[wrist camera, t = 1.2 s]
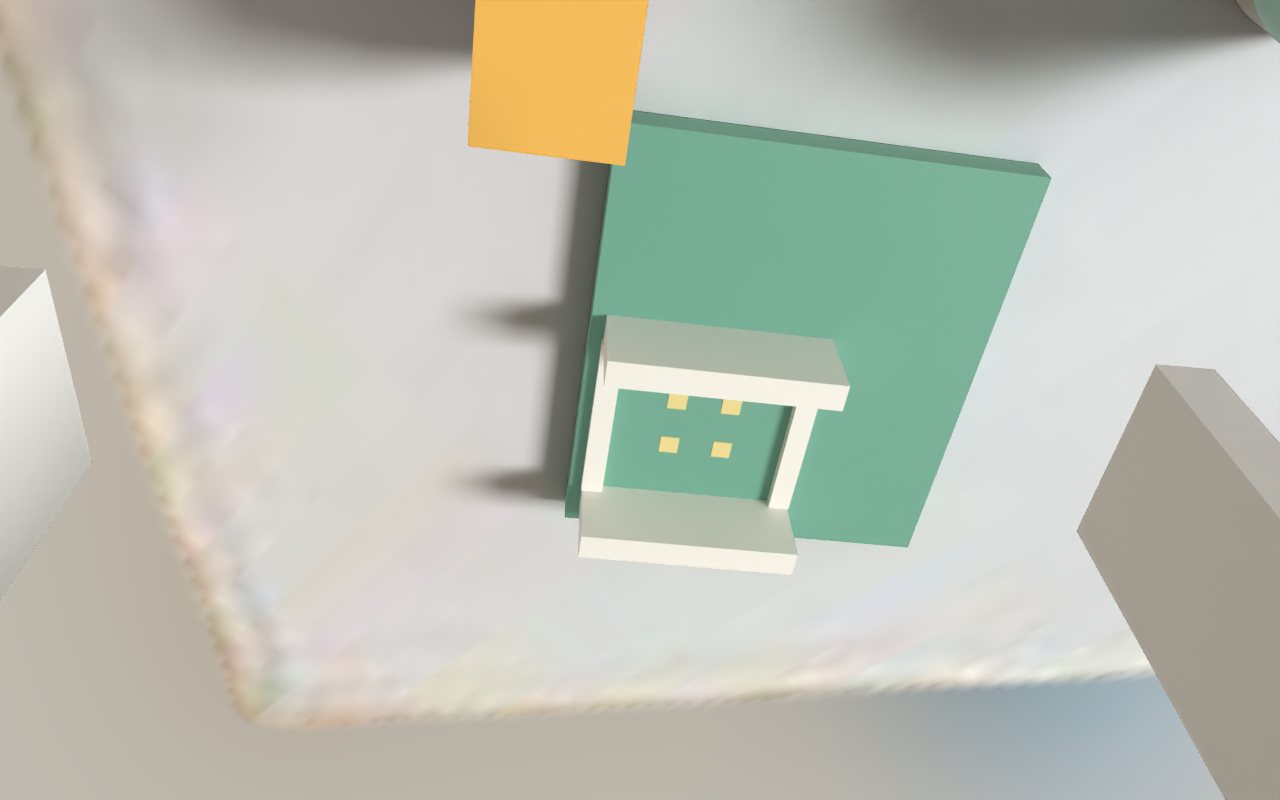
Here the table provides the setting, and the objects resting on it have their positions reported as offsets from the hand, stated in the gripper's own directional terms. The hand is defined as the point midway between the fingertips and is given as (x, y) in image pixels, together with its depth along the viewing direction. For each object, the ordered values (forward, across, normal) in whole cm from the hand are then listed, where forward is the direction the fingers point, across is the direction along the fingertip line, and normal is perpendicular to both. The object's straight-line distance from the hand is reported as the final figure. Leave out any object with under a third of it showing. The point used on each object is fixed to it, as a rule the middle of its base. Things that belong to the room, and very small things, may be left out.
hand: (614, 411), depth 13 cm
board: (+22, +7, -12) cm, 26 cm away
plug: (+22, -1, 0) cm, 22 cm away
